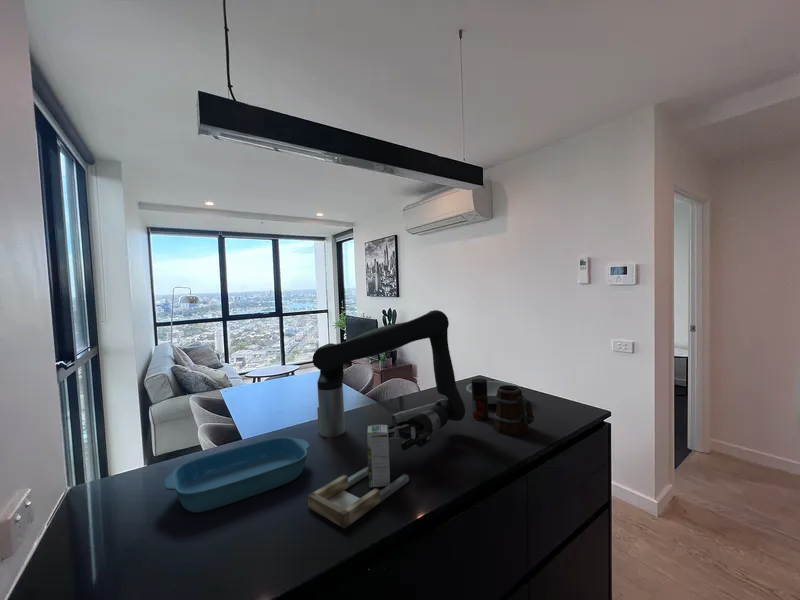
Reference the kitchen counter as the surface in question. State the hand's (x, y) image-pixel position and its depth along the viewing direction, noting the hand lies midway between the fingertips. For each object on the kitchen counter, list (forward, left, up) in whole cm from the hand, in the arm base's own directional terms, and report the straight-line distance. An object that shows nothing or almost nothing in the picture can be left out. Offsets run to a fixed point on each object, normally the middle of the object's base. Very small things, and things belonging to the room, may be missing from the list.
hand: (390, 443), depth 97 cm
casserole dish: (-31, -27, -9) cm, 42 cm away
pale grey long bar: (-18, +39, -9) cm, 44 cm away
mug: (+18, +47, -9) cm, 51 cm away
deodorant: (+2, +52, -9) cm, 53 cm away
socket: (0, -18, -9) cm, 20 cm away
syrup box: (0, -5, -9) cm, 10 cm away
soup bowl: (-2, +73, -9) cm, 73 cm away
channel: (0, -6, -8) cm, 11 cm away
